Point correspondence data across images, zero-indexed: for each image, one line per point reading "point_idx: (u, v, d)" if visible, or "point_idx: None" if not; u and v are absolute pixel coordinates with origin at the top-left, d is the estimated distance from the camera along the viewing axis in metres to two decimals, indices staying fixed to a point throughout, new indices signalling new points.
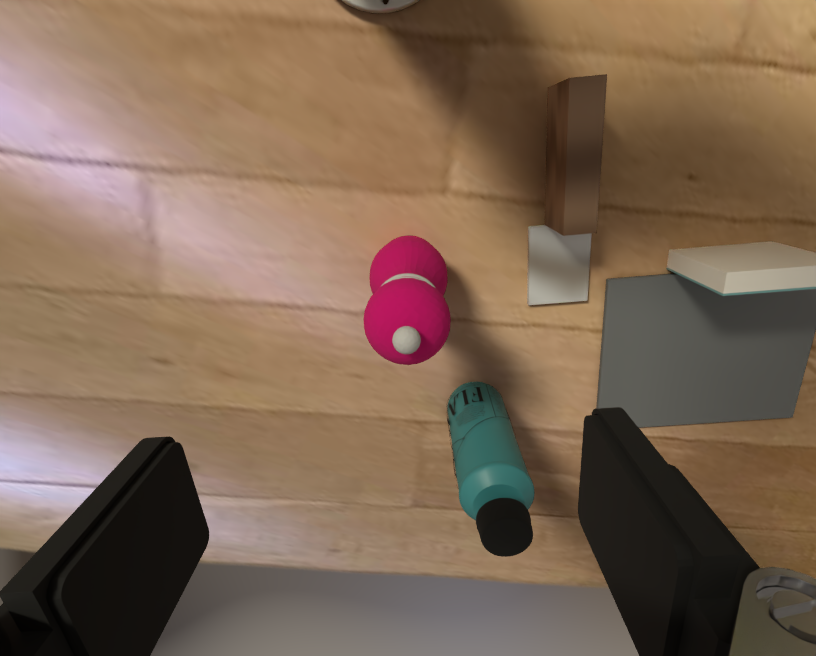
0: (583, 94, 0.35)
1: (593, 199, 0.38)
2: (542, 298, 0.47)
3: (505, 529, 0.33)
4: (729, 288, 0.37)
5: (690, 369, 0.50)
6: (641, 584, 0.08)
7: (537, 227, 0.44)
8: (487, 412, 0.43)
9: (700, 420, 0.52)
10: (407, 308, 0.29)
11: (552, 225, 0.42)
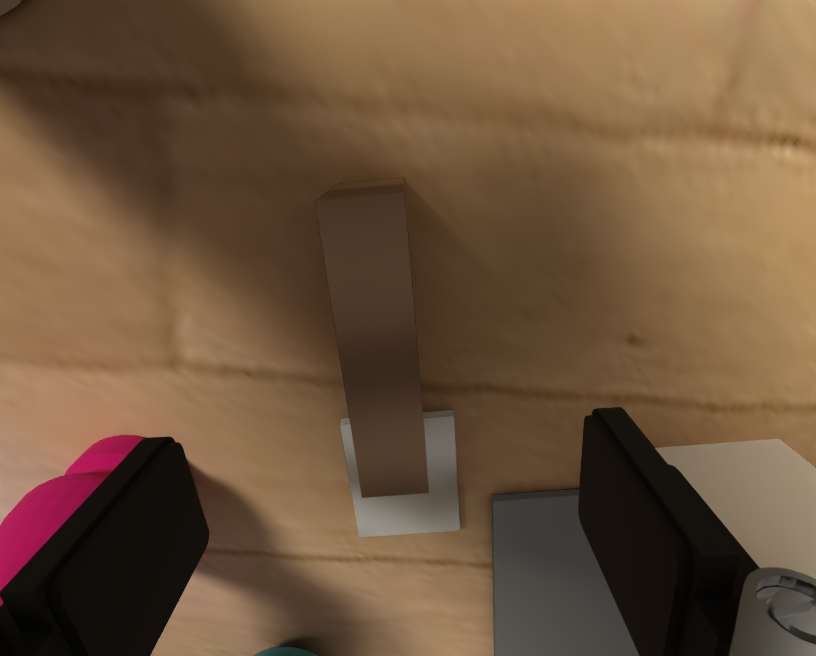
0: (353, 236, 0.15)
1: (413, 437, 0.18)
2: (380, 528, 0.27)
3: None
4: None
5: None
6: (640, 584, 0.08)
7: None
8: None
9: None
10: None
11: None
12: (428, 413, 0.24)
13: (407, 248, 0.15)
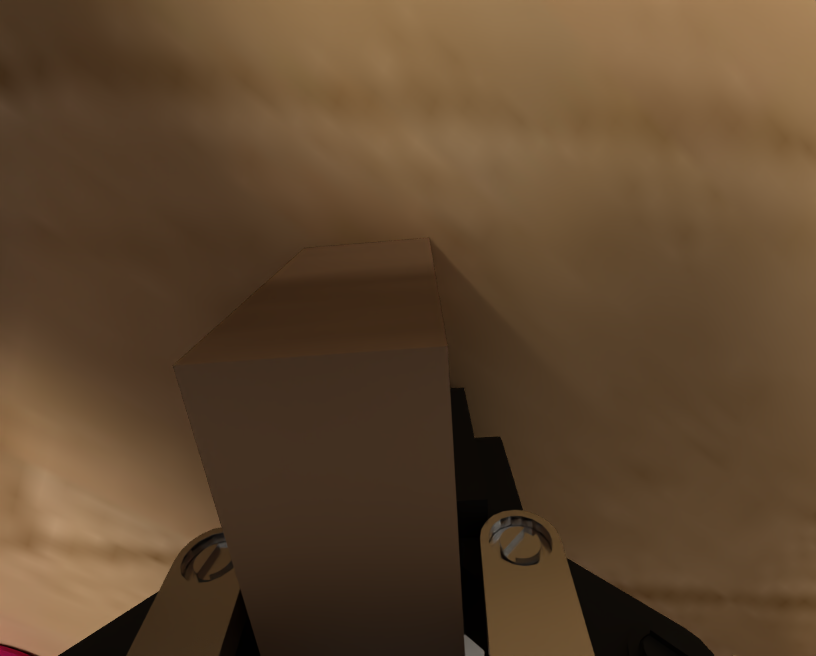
0: (296, 455, 0.05)
1: None
2: None
3: None
4: None
5: None
6: None
7: None
8: None
9: None
10: None
11: None
12: None
13: (451, 486, 0.05)
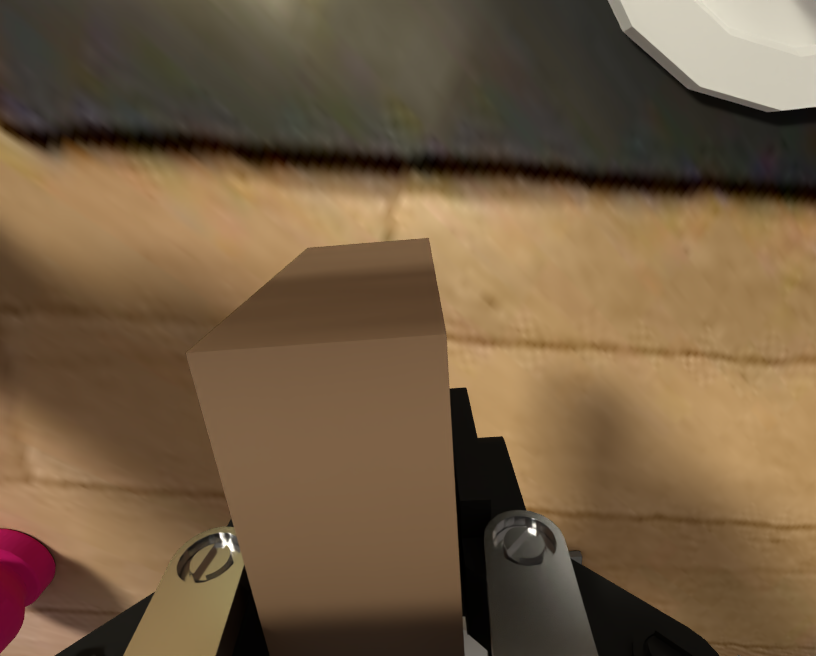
0: (302, 441, 0.05)
1: None
2: None
3: None
4: None
5: None
6: None
7: None
8: None
9: None
10: None
11: None
12: None
13: (450, 471, 0.05)
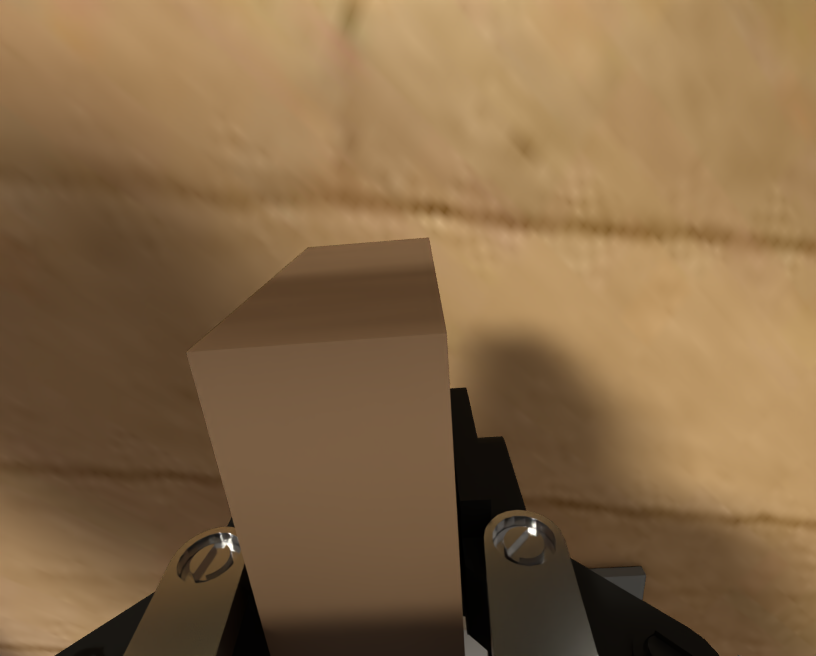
0: (302, 439, 0.05)
1: None
2: None
3: None
4: None
5: None
6: None
7: None
8: None
9: None
10: None
11: None
12: None
13: (451, 470, 0.05)
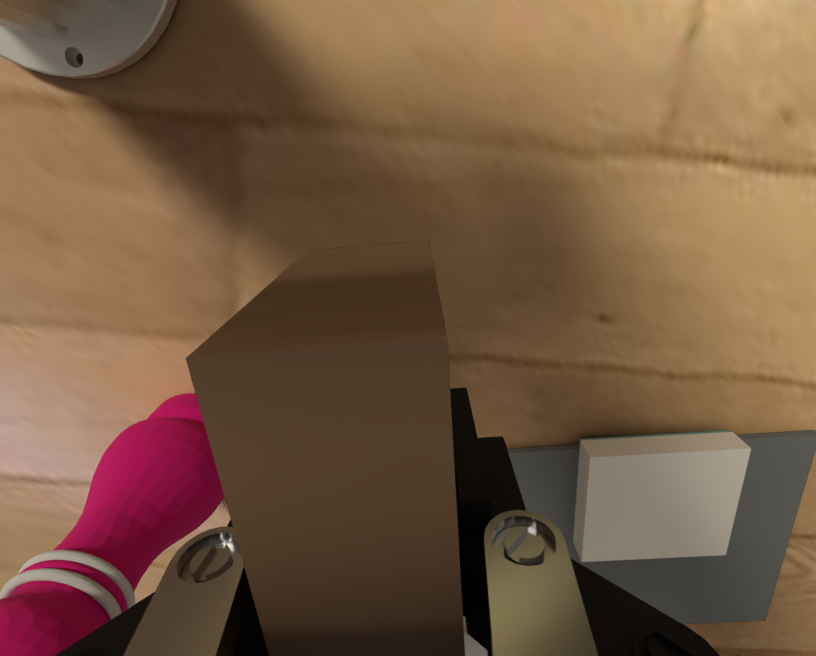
0: (302, 445, 0.05)
1: None
2: None
3: None
4: None
5: (618, 564, 0.35)
6: None
7: None
8: None
9: None
10: None
11: None
12: (463, 618, 0.14)
13: (451, 475, 0.05)
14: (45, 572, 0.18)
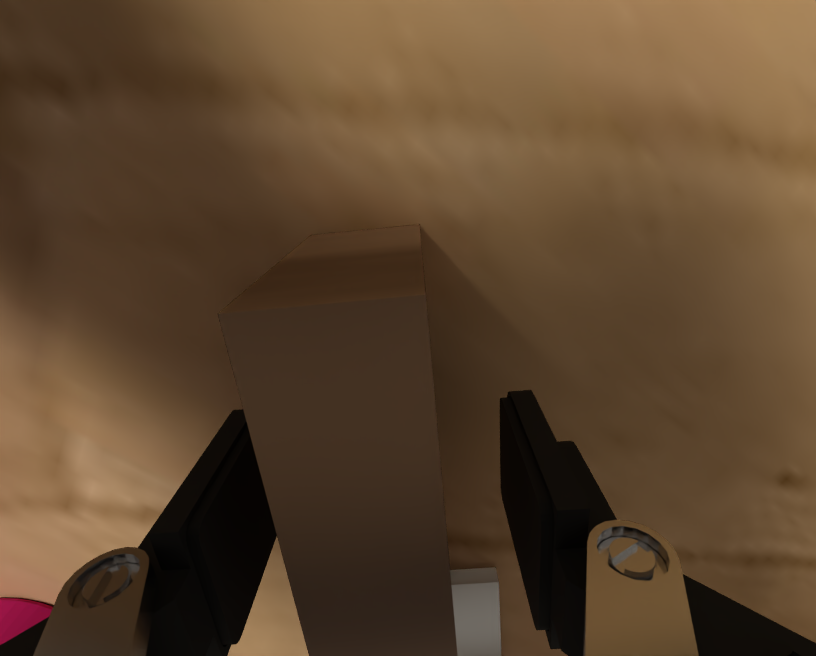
0: (311, 385, 0.06)
1: None
2: None
3: None
4: None
5: None
6: (527, 543, 0.09)
7: None
8: None
9: None
10: None
11: None
12: (458, 573, 0.16)
13: (433, 409, 0.07)
14: None
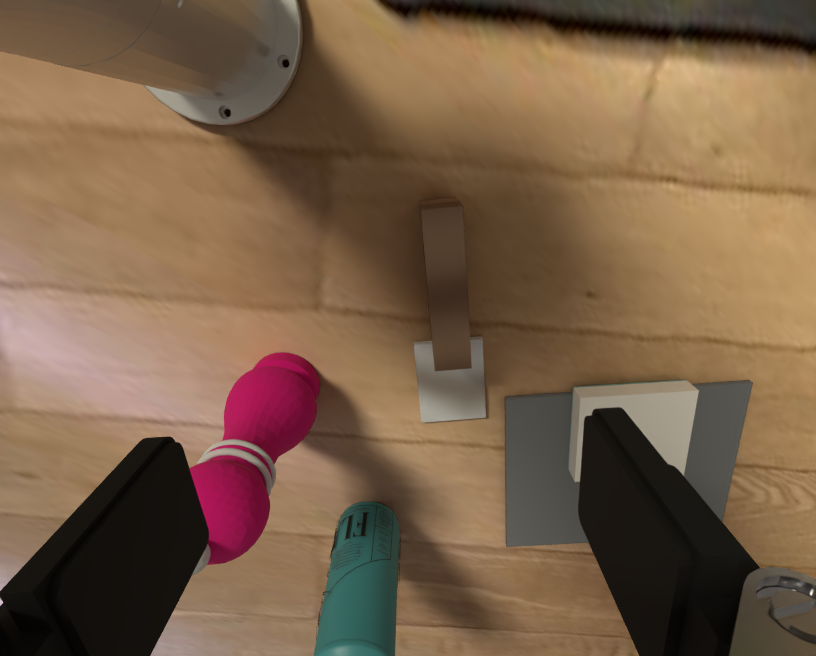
0: (438, 226, 0.31)
1: (464, 334, 0.33)
2: (435, 415, 0.42)
3: None
4: None
5: None
6: (641, 585, 0.08)
7: (422, 344, 0.40)
8: (364, 554, 0.39)
9: None
10: None
11: None
12: None
13: (464, 232, 0.31)
14: (228, 450, 0.28)
